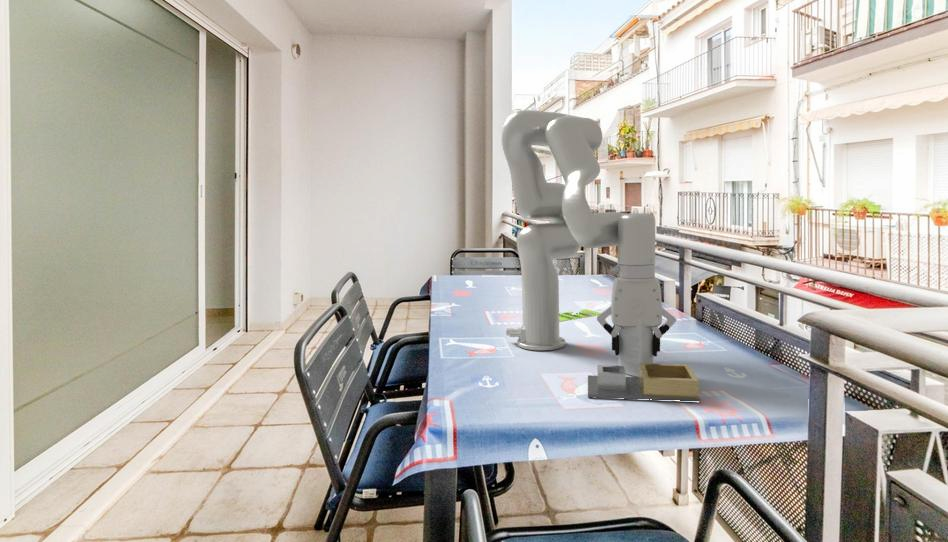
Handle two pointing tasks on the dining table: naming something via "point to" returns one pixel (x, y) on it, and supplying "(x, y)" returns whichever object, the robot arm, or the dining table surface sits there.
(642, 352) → the skincare box
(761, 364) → the dining table surface
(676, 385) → the plate
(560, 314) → the door hanger
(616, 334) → the robot arm
